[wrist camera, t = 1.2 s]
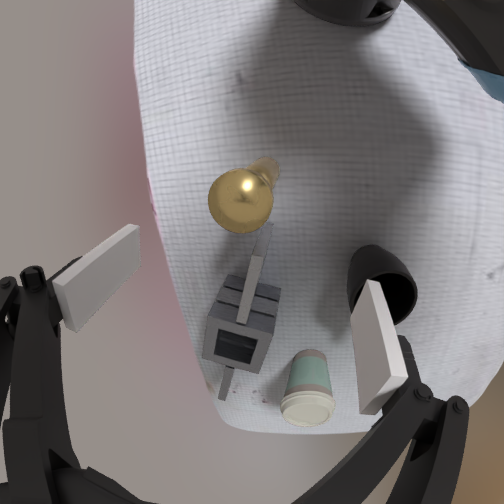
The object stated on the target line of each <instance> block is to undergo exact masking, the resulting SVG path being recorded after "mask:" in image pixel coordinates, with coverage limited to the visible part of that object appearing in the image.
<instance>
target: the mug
mask: <svg viewBox="0 0 504 504" xmlns="http://www.w3.org/2000/svg"><path fill="white" fill-rule="evenodd" d="M367 279H368V280H372V281H376V282H379V283H380V285H381V288H382V291H383V294H384V297H385V300H386V303H387V306H388V309H389V312H390V315H391V318H392V321H393V324H394V326H395V325H397V324H398V323H400V322H402V321H403V320H404V319H405V318H406V317H407V316H408V315H409V314H410V313H411V312H412V310H413V308H414V306H415V304H416V301H417V286H416V283H415V281H414V280H413V278H412V276H411V274H410V273H409V271H408V270H407V268H406V266H405V265H404V264H403V263H402V262H401V261H400V260H399V259H398V258H397V257H396V256H395V255H393V254H392V253H390V252H388V251H387V250H385V249H383V248H381V247H379V246H376V245H367V246H364V247H362V248H360V249H359V250H357V252H356V253H355V254H354V256H353V257H352V260H351V265H350V268H349V271H348V279H347V294H348V300H349V306H350V311H351V314H352V312H353V310H354V308H355V306H356V304H357V301H358V299H359V297H360V295H361V292H362V290H363V288H364V285H365V283H366V281H367Z"/></svg>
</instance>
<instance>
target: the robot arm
mask: <svg viewBox="0 0 504 504" xmlns="http://www.w3.org/2000/svg"><path fill="white" fill-rule="evenodd" d="M294 1H295V2H296V3H297V4H298V5H299V6H300V7H301V8H303V9H304V10H306V11H307V12H309V13H310V14H312V15H314V16H316V17H318V18H320V19H323V20H325V21H328V22H332V23H335V24H340V25H345V26H369V25H374V24H377V23H380V22H382V21H384V20H386V19H387V18H389V17H390V16H391V15H392V14H393V12H394V11H395V10H396V9H397V7H398V6H399V4H400V2H401V0H294ZM404 1H405V2H406V3H407V4H408V5H409V6H410V7H411V8H413V9H414V10H415V11H416V12H417V13H418V14H419V15H420V16H421V17H422V18H423V19H424V20H425V21H426V22H427V23H428V24H429V25H430V26H431V27H432V28H433V29H434V30H435V31H436V32H437V34H438V35H439V36H440V37H441V38H442V39H443V40H444V41H445V42H446V44H447V45H448V46H449V47H450V48H451V49H452V51H453V52H454V53H455V54H456V56H457V57H458V60H459V62H460V63H461V64H462V65H463V66H464V67H465V68H467V69H468V70H469V71H470V72H471V73H472V75H473V76H474V77H475V79H476V80H477V81H478V83H479V84H480V85H481V87H482V88H483V89H484V90H485V91H486V93H488V94H489V95H490V96H491V97H492V98H494V99H496V100H498V101H501V102H502V103H504V0H404ZM139 267H141V261H140V233H139V226H136V225H132V224H128V225H126V226H125V227H123V228H122V229H120V230H119V231H118V232H116V233H115V234H113V235H112V236H110V237H109V238H108V239H106V240H105V241H103V242H102V243H101V244H99V245H98V246H97V247H95V248H94V249H93V250H91V251H90V252H89V253H87V254H86V255H84V256H81V257H78V258H76V259H74V260H72V261H71V262H70V263H68V264H67V266H64V267H63V268H62V269H61V270H60V271H58V272H57V273H56V274H54V275H53V276H52V277H50V278H49V279H48V280H47V281H46V279H45V275H44V271H43V269H42V267H40V266H30V267H27V268H26V269H24V270H23V271H22V272H21V273H20V278H21V282H22V285H23V287H22V286H18V285H17V281H16V279H15V278H14V277H11V276H9V277H4V278H2V279H1V280H0V426H1V421H2V416H3V411H4V406H5V402H6V398H7V394H8V390H9V386H10V418H9V419H7V420H4V422H3V427H2V430H3V446H4V457H5V465H6V471H7V478H8V482H5V483H0V504H156V503H151V502H145V501H142V500H140V499H138V498H137V497H135V496H134V495H132V494H131V493H130V492H129V491H127V490H126V489H125V488H123V487H122V486H121V485H119V484H118V483H117V482H116V481H114V480H113V479H110V478H109V477H107V476H105V475H103V474H101V473H99V472H98V471H96V470H94V469H92V468H91V467H88V468H87V469H81V467H80V464H79V461H78V459H77V457H76V455H75V453H74V451H73V449H72V445H71V440H70V435H69V430H68V424H67V418H66V410H65V403H64V394H63V384H62V369H61V339H60V338H61V333H60V332H61V328H60V324H59V322H60V321H61V320H62V319H63V320H64V323H65V326H66V327H67V328H68V329H70V330H72V331H74V332H76V333H77V332H78V331H79V330H80V329H81V328H82V327H83V326H84V325H85V324H86V323H87V321H88V320H89V319H90V318H91V317H92V316H93V315H94V314H95V313H96V311H97V310H99V308H100V307H101V306H102V305H103V304H104V303H105V302H106V301H107V300H108V299H109V298H110V297H111V296H112V295H113V294H114V293H115V292H116V291H117V290H118V289H119V288H120V287H121V286H122V285H123V283H124V282H125V281H126V280H127V279H128V278H129V277H130V276H131V275H132V274H133V273H134V272H135V271H136V270H137V269H138V268H139ZM6 315H7V318H8V320H7V322H5V317H6ZM350 322H351V329H352V337H353V345H354V353H355V363H356V372H357V383H358V396H359V411H360V414H366V415H376V414H377V413H378V412H379V410H380V409H381V408H382V413H383V416H382V417H381V418H380V419H379V420H378V421H377V422H376V423H375V424H374V425H373V426H372V428H371V429H370V430H369V432H368V433H367V434H366V435H365V436H364V437H363V438H362V439H361V441H360V442H359V443H358V444H357V445H356V446H355V447H354V448H353V449H352V450H351V451H350V452H349V453H348V454H347V455H346V456H345V458H343V459H342V460H341V461H340V462H339V463H338V464H337V465H336V466H335V467H334V468H333V469H332V470H331V471H330V472H328V473H327V474H326V475H325V476H324V477H323V478H322V479H321V480H320V481H318V482H317V483H316V484H315V485H314V486H313V487H311V488H310V489H309V490H308V491H307V492H306V493H304V494H303V495H302V496H301V497H299V498H298V499H297V500H295V501H294V502H293V503H291V504H361V503H362V502H363V501H364V500H365V499H366V498H367V497H368V495H369V494H370V493H371V492H372V491H373V489H374V488H375V487H376V486H377V485H378V484H379V482H380V481H381V480H382V479H383V478H384V476H385V475H386V474H387V472H388V471H389V470H390V469H391V467H392V466H393V464H394V463H395V462H396V460H397V459H398V458H399V456H400V455H401V453H402V452H403V451H404V449H405V448H406V446H407V444H408V443H409V442H410V440H411V439H412V442H411V444H410V447H409V450H408V453H407V456H406V458H405V461H404V464H403V466H402V469H401V471H400V474H399V476H398V478H397V481H396V483H395V485H394V487H393V490H392V492H391V494H390V496H389V498H388V500H387V502H386V504H451V501H452V498H453V495H454V491H455V488H456V484H457V480H458V476H459V472H460V468H461V463H462V458H463V453H464V448H465V441H466V435H467V428H468V420H469V407H468V404H467V402H466V401H465V400H464V399H463V398H462V397H460V396H452V397H451V398H449V399H448V400H447V401H443V400H440V399H437V398H435V397H433V393H432V391H431V389H430V388H429V387H428V386H427V385H425V384H423V383H421V379H420V376H419V372H418V369H417V365H416V362H415V360H414V359H415V358H414V355H413V354H412V349H411V345H410V343H409V342H408V341H407V339H406V338H405V336H401V335H397V334H396V331H395V327H394V324H393V321H392V318H391V315H390V312H389V309H388V306H387V303H386V300H385V297H384V294H383V291H382V288H381V285H380V283H379V282H376V281H372V280H368V279H367V281H366V283H365V285H364V288H363V290H362V292H361V295H360V297H359V299H358V301H357V304H356V306H355V308H354V310H353V312H352V315H351V317H350ZM10 382H11V384H10Z"/></svg>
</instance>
